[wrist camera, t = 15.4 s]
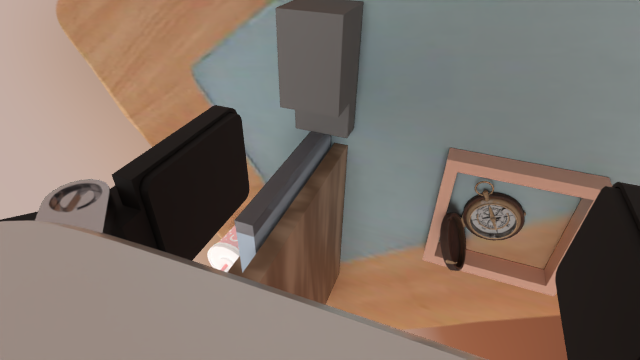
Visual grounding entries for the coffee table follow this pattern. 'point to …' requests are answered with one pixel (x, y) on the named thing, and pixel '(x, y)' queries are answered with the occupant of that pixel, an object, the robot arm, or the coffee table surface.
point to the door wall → (306, 236)
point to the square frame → (521, 175)
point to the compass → (479, 224)
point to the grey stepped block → (320, 62)
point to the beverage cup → (224, 251)
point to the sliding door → (278, 195)
